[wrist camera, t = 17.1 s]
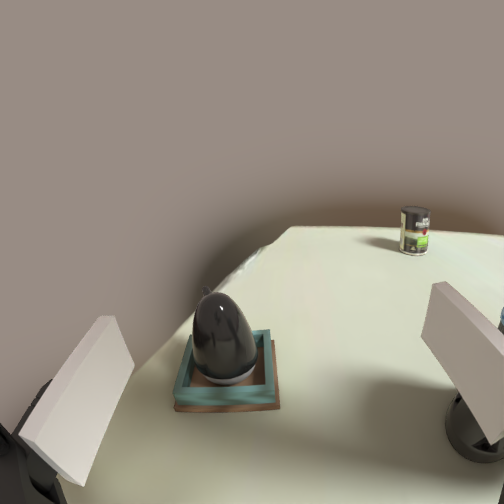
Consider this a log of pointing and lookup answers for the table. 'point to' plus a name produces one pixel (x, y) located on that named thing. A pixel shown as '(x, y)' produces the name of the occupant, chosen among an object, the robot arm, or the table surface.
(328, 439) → the table surface
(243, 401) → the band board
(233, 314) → the dark grey glossy oval
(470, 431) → the robot arm
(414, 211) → the coffee can
